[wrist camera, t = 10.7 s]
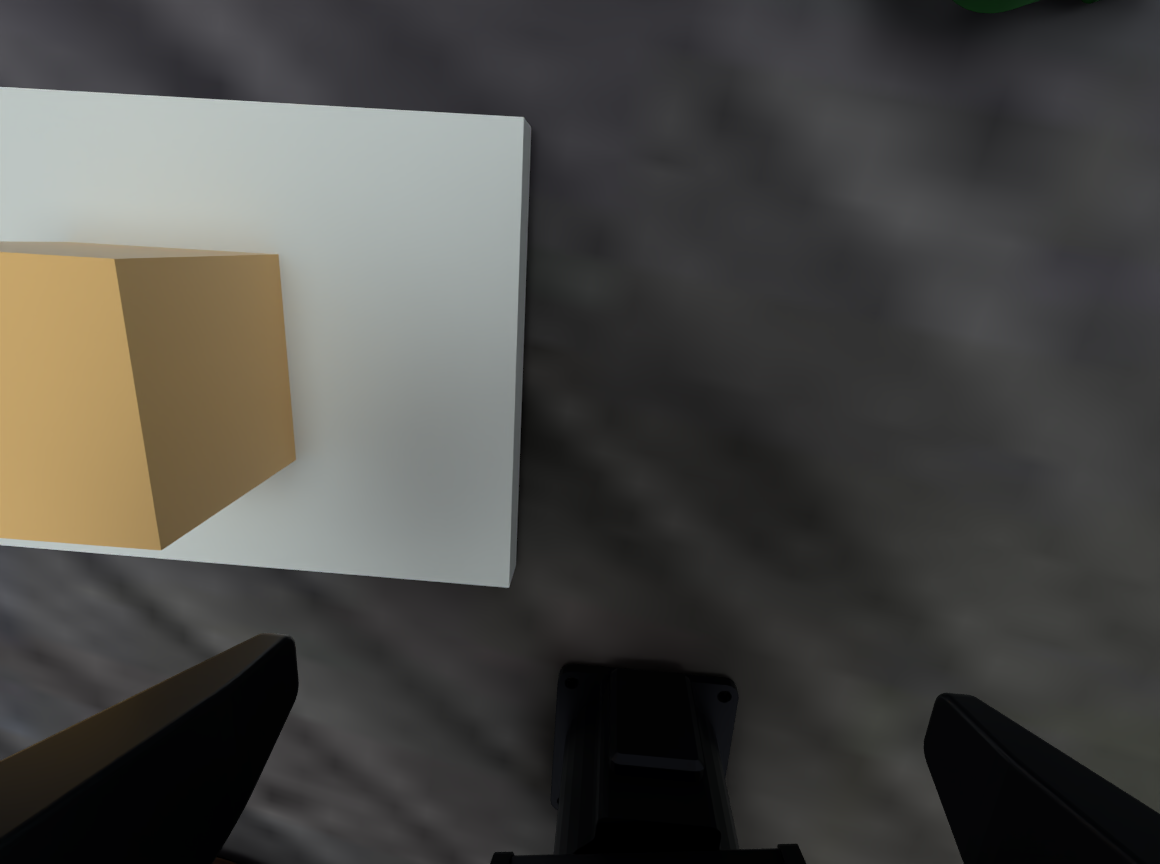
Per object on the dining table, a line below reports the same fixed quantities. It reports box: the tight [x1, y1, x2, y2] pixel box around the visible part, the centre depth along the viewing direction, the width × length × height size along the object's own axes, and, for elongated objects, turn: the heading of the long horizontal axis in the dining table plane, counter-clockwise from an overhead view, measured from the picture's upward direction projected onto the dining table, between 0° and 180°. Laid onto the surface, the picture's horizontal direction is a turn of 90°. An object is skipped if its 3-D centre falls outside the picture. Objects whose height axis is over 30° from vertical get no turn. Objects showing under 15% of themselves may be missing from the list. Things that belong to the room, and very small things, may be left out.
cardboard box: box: [0, 241, 296, 550], centre depth 16 cm, size 6×6×6 cm
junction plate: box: [0, 87, 531, 588], centre depth 17 cm, size 14×20×6 cm
